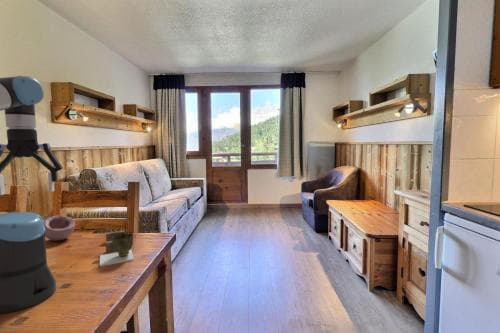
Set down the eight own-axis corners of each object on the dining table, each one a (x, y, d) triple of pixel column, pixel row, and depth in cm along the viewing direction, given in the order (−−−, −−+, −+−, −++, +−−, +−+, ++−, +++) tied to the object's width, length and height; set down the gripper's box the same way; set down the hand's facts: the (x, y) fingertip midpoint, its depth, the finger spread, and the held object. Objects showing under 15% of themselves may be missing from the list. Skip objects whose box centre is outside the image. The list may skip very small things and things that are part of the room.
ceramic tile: (133, 260, 100) (133, 258, 99) (99, 266, 94) (99, 265, 94) (131, 250, 108) (131, 249, 108) (100, 256, 103) (100, 254, 103)
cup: (126, 250, 108) (125, 230, 107) (138, 253, 104) (137, 233, 103) (108, 256, 101) (107, 236, 100) (120, 261, 97) (119, 239, 97)
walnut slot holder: (123, 239, 122) (123, 230, 121) (125, 249, 109) (125, 240, 109) (106, 241, 118) (105, 232, 118) (106, 253, 106) (105, 243, 106)
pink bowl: (53, 246, 113) (51, 219, 112) (37, 242, 118) (35, 216, 117) (81, 237, 124) (80, 213, 123) (65, 233, 129) (64, 210, 128)
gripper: (69, 129, 96) (73, 188, 98) (-22, 128, 87) (-15, 193, 89) (63, 128, 89) (68, 191, 91) (-36, 127, 80) (-28, 198, 82)
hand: (27, 193), depth 90 cm, fingers open, 13 cm apart
